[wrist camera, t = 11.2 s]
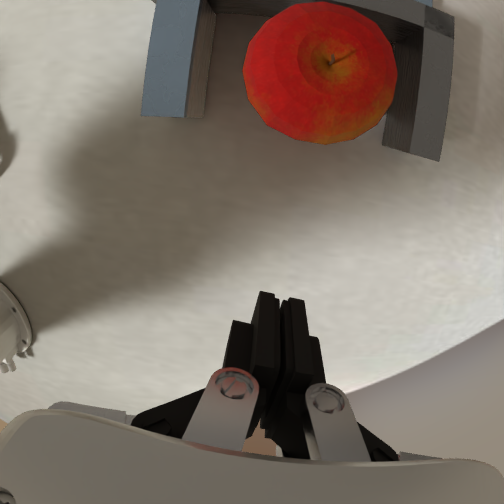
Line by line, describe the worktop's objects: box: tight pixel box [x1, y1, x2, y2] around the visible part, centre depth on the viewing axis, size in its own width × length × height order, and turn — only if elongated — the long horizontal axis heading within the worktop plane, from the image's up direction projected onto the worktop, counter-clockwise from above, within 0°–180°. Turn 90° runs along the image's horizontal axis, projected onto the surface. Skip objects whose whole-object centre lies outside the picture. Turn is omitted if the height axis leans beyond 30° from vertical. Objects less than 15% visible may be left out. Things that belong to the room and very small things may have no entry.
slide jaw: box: [141, 0, 217, 118], centre depth 20 cm, size 9×3×6 cm, turn 173°
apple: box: [242, 2, 397, 145], centre depth 18 cm, size 9×9×12 cm
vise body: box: [152, 0, 454, 162], centre depth 19 cm, size 16×22×6 cm
